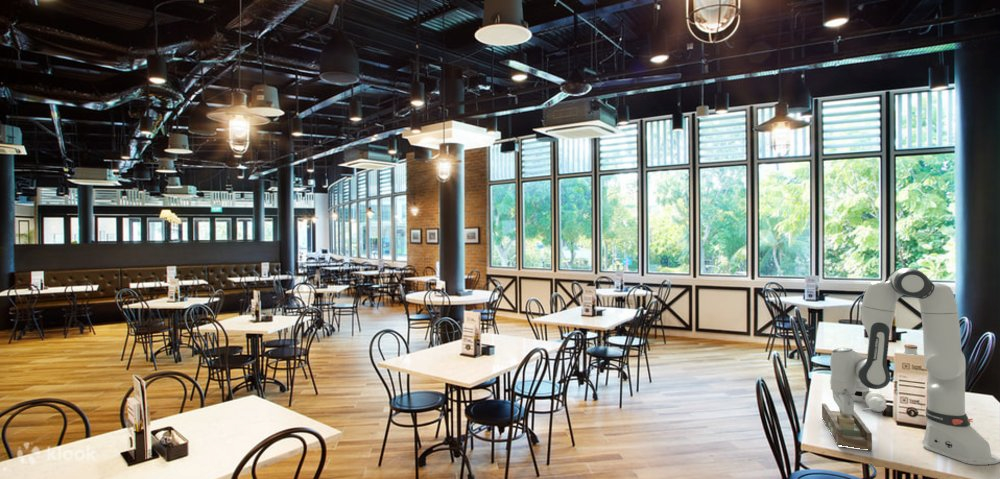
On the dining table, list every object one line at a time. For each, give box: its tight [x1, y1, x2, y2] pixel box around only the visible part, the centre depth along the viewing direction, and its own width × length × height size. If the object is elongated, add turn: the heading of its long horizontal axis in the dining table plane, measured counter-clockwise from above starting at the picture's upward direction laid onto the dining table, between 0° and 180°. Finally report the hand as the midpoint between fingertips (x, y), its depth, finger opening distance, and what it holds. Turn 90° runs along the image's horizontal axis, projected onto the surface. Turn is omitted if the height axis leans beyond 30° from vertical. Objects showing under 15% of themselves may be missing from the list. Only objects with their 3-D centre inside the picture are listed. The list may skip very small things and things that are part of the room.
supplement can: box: [852, 379, 870, 403], centre depth 249 cm, size 8×8×15 cm
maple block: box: [837, 414, 854, 429], centre depth 208 cm, size 5×5×4 cm
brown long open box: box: [821, 403, 873, 451], centre depth 210 cm, size 32×11×7 cm, turn 157°
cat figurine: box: [861, 390, 888, 413], centre depth 236 cm, size 9×11×12 cm
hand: (843, 418), depth 212 cm, fingers closed
